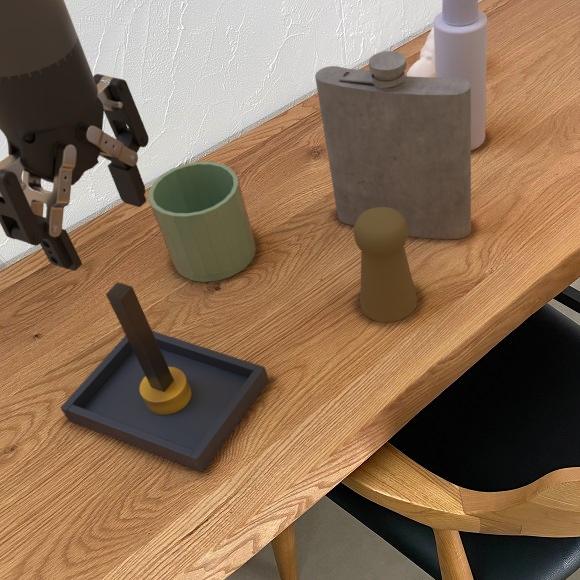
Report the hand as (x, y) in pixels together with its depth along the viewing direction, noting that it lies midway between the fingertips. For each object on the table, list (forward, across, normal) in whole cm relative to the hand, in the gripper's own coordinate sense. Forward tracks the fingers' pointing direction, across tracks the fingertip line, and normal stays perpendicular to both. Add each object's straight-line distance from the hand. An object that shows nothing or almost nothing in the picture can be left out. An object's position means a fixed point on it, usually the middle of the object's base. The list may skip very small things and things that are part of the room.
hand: (103, 233), depth 66 cm
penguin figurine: (+18, -59, +4) cm, 62 cm away
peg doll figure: (+18, -17, +17) cm, 30 cm away
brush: (+17, +3, +3) cm, 17 cm away
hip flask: (+18, -29, +13) cm, 36 cm away
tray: (+18, +3, +3) cm, 18 cm away
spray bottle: (+18, -47, +12) cm, 52 cm away
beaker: (+18, -17, -5) cm, 25 cm away
